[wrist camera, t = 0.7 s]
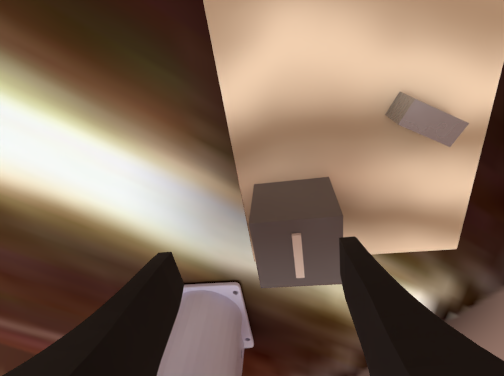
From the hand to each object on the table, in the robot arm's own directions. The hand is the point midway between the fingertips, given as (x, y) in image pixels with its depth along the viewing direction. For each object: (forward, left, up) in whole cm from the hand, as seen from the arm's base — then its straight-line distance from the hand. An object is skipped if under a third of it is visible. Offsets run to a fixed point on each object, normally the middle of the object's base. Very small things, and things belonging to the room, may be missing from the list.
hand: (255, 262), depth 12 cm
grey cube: (-3, -2, -8) cm, 9 cm away
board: (+2, -6, -9) cm, 11 cm away
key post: (+3, -9, -8) cm, 13 cm away
